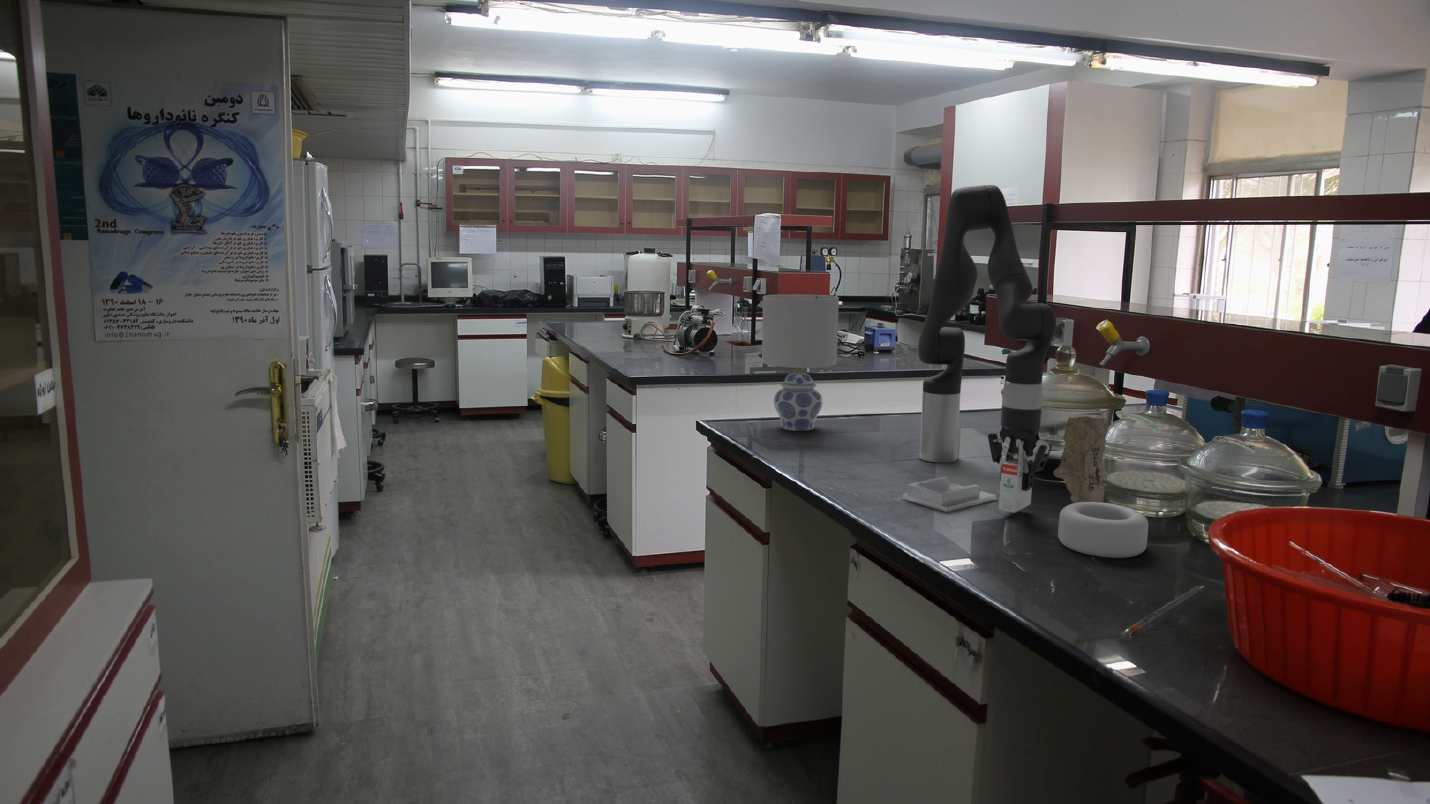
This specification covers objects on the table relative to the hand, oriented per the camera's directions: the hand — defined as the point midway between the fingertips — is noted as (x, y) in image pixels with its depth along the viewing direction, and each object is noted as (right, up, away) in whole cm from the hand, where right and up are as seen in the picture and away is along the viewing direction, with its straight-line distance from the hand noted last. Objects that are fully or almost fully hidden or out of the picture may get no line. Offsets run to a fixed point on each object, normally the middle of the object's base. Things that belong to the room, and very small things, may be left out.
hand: (1015, 487), depth 189 cm
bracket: (-11, -4, +11) cm, 16 cm away
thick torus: (+10, -9, -18) cm, 22 cm away
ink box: (0, -5, +1) cm, 5 cm away
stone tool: (+15, -5, +6) cm, 17 cm away
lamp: (-37, +9, +84) cm, 92 cm away
